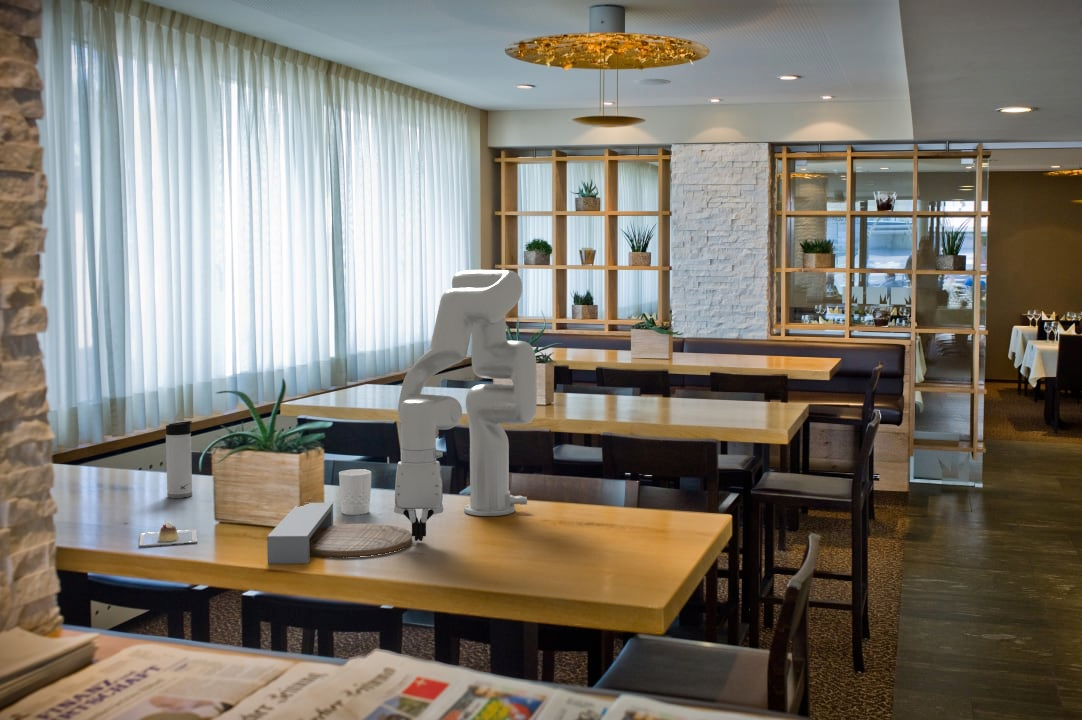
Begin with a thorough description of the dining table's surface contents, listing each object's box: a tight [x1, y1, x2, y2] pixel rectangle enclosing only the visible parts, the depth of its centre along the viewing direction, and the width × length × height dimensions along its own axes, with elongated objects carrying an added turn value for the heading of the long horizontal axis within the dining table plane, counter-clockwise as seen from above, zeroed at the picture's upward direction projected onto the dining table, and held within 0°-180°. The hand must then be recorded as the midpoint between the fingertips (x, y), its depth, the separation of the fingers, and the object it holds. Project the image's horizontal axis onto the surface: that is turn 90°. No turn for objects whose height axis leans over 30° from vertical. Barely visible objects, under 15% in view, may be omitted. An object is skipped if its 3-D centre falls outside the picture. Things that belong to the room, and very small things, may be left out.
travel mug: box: [165, 420, 193, 499], centre depth 290 cm, size 6×7×20 cm
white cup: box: [338, 469, 372, 516], centre depth 271 cm, size 8×8×10 cm
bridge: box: [266, 502, 334, 565], centre depth 239 cm, size 8×33×6 cm, turn 2°
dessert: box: [138, 520, 199, 547], centre depth 243 cm, size 12×12×5 cm
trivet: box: [309, 523, 413, 559], centre depth 240 cm, size 25×25×2 cm
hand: (419, 539), depth 240 cm, fingers closed
